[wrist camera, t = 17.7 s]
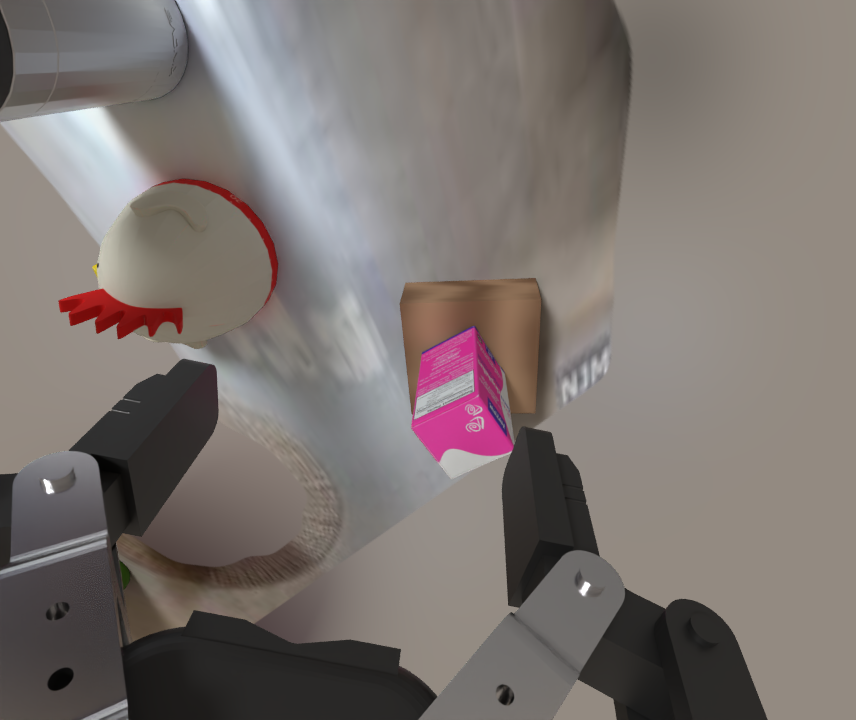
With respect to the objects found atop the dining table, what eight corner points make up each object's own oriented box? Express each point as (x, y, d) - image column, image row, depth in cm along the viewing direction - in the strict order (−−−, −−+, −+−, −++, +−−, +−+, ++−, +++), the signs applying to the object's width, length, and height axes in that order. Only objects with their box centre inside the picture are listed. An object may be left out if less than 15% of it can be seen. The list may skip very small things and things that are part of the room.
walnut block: (416, 385, 54) (411, 414, 49) (406, 281, 47) (399, 303, 43) (530, 383, 52) (535, 413, 48) (534, 276, 46) (541, 299, 42)
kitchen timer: (125, 159, 43) (-20, 205, 30) (283, 201, 44) (207, 263, 31) (136, 301, 50) (23, 386, 38) (271, 335, 51) (205, 429, 38)
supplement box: (507, 371, 46) (518, 454, 36) (452, 397, 48) (447, 483, 38) (476, 321, 43) (478, 396, 34) (419, 351, 45) (405, 430, 35)
